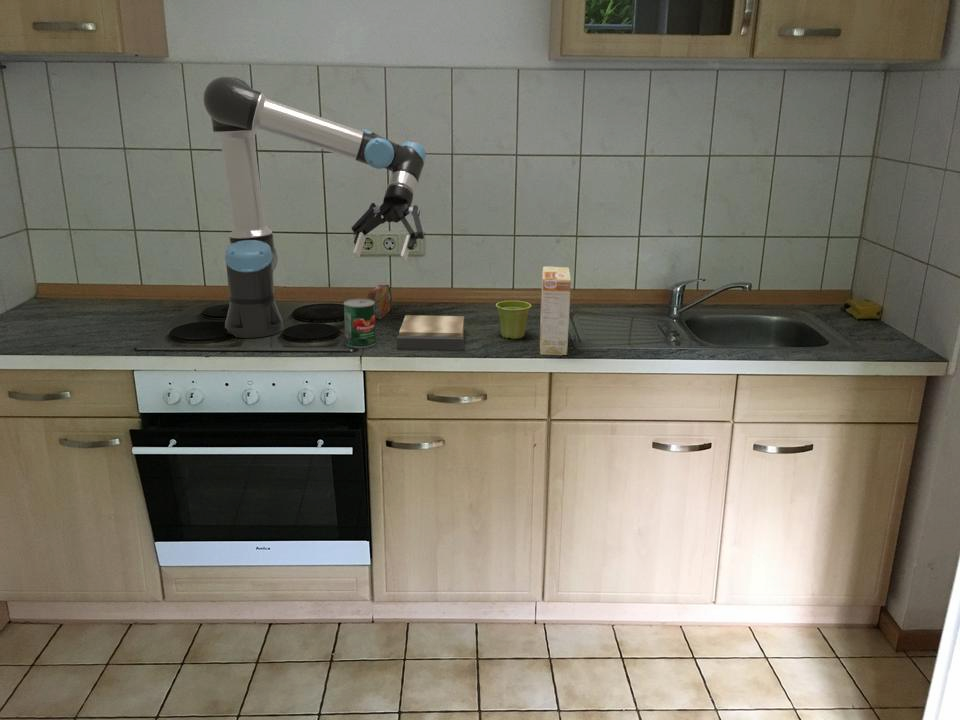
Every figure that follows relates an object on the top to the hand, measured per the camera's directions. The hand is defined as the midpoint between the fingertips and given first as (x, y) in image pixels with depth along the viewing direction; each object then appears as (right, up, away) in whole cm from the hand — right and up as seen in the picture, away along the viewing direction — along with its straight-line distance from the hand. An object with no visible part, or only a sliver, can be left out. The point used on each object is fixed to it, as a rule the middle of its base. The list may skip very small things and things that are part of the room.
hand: (379, 257), depth 205 cm
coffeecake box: (+45, -24, -3) cm, 51 cm away
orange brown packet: (-3, -14, +23) cm, 27 cm away
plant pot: (+35, -21, +5) cm, 41 cm away
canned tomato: (-4, -23, -3) cm, 24 cm away
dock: (+14, -21, +2) cm, 26 cm away
